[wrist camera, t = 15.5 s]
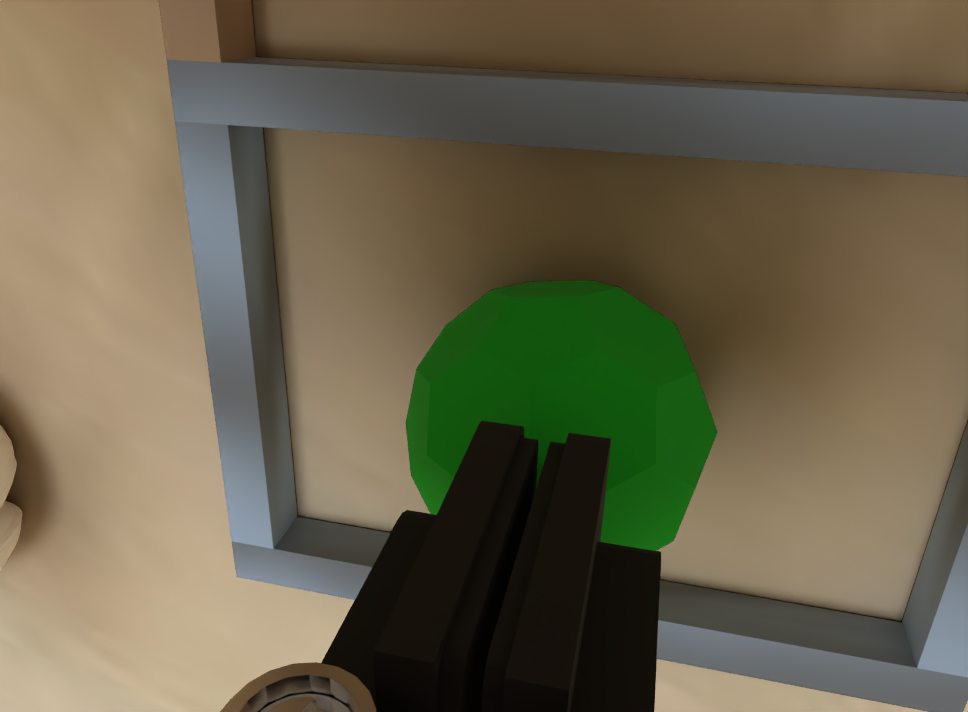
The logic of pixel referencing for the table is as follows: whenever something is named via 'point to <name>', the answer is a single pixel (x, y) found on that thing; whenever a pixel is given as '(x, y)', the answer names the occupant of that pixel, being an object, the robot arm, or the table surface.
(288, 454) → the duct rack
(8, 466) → the water bottle
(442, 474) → the polyhedron
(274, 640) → the table surface
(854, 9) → the table surface
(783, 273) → the table surface
